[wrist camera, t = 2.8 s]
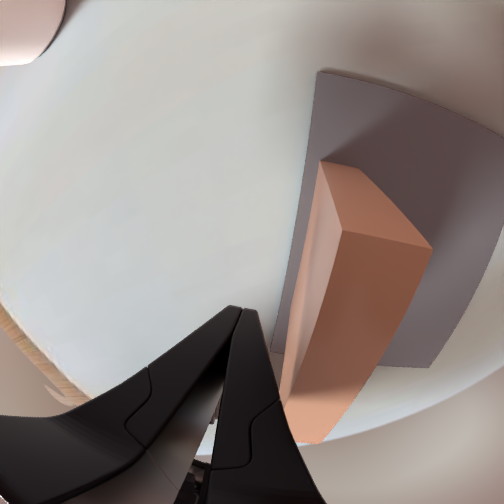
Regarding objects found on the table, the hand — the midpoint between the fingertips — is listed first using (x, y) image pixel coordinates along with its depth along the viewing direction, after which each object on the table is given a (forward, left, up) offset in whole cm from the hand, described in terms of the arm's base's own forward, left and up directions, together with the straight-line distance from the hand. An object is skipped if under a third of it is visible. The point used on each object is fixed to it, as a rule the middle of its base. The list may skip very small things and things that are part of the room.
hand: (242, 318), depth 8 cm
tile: (0, -3, -6) cm, 7 cm away
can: (+14, +18, -7) cm, 24 cm away
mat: (0, -7, -6) cm, 10 cm away
